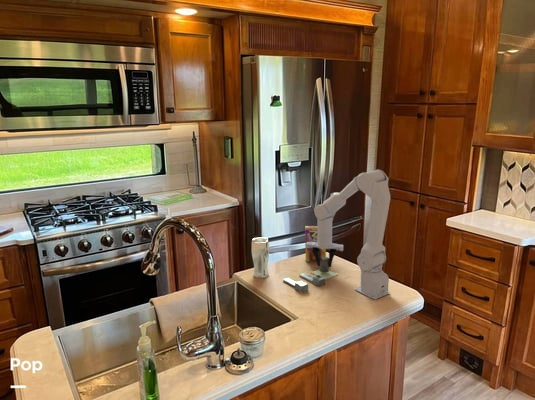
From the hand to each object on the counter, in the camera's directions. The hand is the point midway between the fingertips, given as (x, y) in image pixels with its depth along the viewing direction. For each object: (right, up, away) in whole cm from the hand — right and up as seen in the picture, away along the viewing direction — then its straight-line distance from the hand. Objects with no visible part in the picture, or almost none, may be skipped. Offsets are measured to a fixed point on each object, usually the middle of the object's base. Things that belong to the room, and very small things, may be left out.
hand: (324, 265), depth 161 cm
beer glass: (-25, -4, +1) cm, 26 cm away
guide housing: (-9, -6, -7) cm, 13 cm away
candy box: (-2, 0, +16) cm, 16 cm away
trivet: (0, -3, +1) cm, 3 cm away
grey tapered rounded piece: (0, -1, +3) cm, 3 cm away
